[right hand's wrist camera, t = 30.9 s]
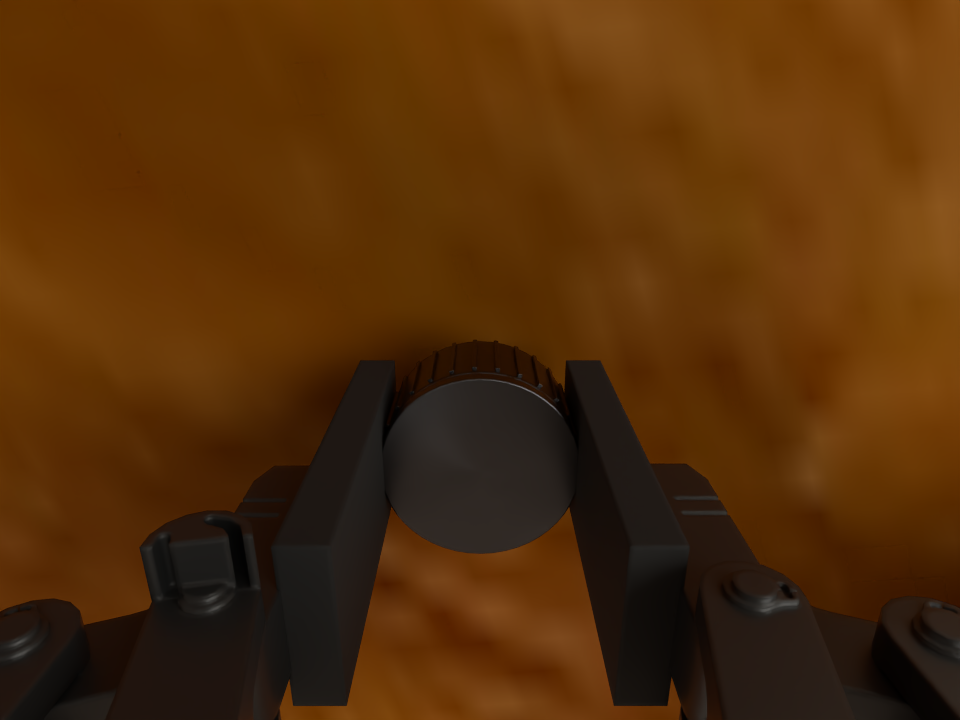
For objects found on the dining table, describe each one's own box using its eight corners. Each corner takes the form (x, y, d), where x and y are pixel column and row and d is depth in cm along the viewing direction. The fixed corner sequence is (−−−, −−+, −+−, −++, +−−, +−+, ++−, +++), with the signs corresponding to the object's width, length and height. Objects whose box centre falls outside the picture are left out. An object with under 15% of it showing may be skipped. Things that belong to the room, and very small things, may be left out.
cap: (435, 519, 15) (428, 580, 13) (360, 377, 14) (341, 421, 12) (593, 463, 15) (611, 518, 13) (531, 310, 14) (540, 345, 12)
